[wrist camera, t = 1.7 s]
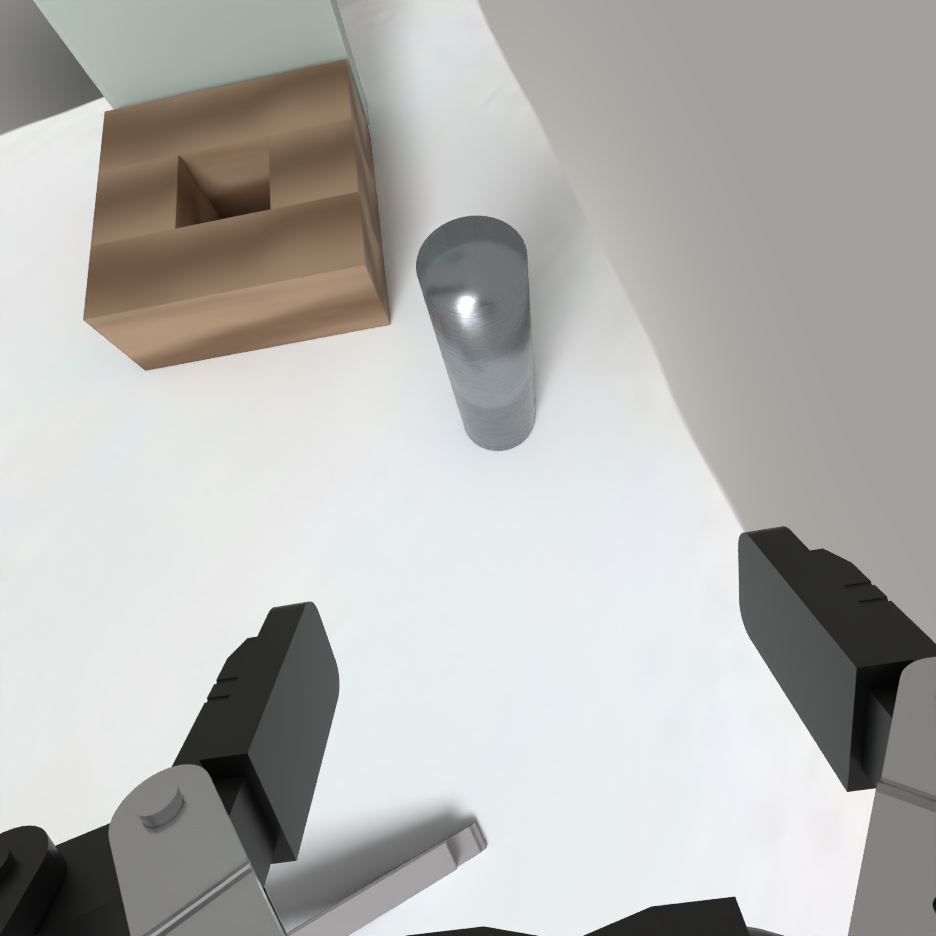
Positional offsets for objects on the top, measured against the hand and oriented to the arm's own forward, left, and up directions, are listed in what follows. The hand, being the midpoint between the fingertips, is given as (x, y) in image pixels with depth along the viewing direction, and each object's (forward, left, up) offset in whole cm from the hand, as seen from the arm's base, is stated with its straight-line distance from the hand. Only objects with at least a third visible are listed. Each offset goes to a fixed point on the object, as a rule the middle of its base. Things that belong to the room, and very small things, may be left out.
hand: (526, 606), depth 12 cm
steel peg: (+7, +10, -16) cm, 20 cm away
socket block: (+5, +28, -16) cm, 32 cm away
